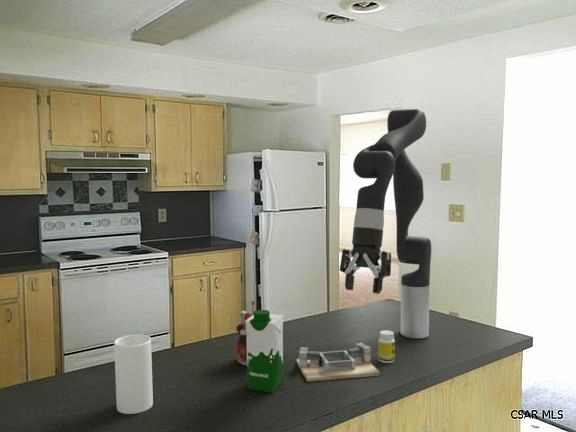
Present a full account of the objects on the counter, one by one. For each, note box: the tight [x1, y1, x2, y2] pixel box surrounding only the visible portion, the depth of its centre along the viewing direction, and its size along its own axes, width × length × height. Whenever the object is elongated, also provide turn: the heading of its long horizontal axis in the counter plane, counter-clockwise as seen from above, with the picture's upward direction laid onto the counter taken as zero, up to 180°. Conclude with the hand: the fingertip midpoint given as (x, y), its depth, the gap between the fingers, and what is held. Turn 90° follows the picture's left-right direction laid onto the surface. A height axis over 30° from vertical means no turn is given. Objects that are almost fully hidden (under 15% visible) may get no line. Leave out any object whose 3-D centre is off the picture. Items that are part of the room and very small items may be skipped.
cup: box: [113, 334, 154, 415], centre depth 118 cm, size 8×8×16 cm
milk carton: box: [244, 309, 284, 394], centre depth 129 cm, size 9×9×20 cm
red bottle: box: [236, 300, 256, 366], centre depth 146 cm, size 11×9×18 cm
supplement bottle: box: [377, 329, 396, 364], centre depth 146 cm, size 5×5×8 cm
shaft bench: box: [295, 342, 380, 382], centre depth 140 cm, size 14×21×5 cm
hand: (362, 291), depth 126 cm, fingers open, 8 cm apart
